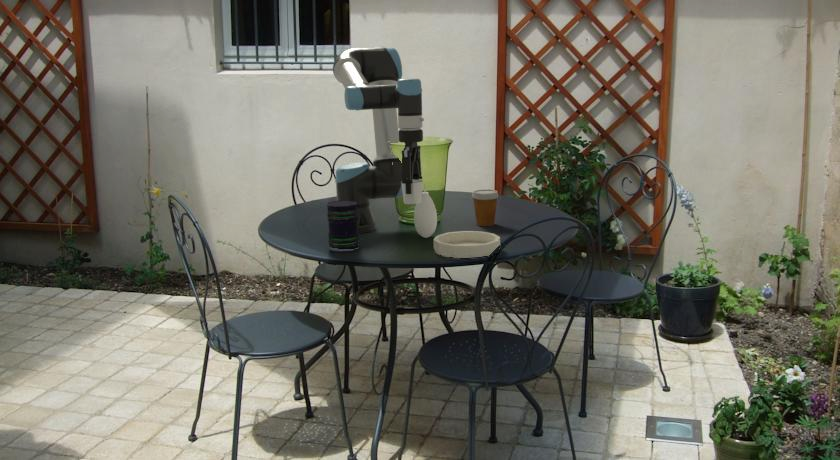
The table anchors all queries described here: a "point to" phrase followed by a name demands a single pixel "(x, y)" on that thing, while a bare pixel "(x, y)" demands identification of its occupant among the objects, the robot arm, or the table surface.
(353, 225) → the storage jar
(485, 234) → the cream bowl
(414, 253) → the table surface
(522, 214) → the table surface
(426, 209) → the sauce bottle
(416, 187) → the shot glass
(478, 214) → the disposable coffee cup
